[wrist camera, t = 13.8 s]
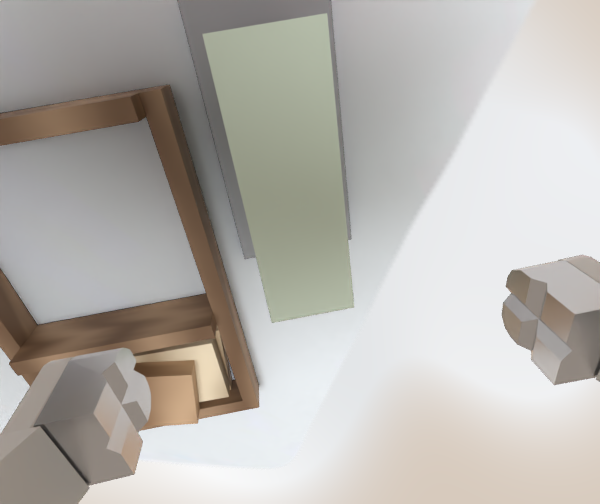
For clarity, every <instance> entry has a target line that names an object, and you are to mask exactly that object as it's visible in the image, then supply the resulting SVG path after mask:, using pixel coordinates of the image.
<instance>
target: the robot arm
mask: <svg viewBox="0 0 600 504" xmlns="http://www.w3.org/2000/svg"><path fill="white" fill-rule="evenodd" d="M506 287H507V288H508V289H509V291H510V292H511V294H510V296H508V298H507V299H506V300H505V301H504V302H503V310H502V318H503V322H504V326H505V328H506V330H507V332H508V333H509V335H510V337H511V338H512V339H513V340H514V341H515V342H516V343H517V344H518V345H520V346H522V347H524V348H526V349H529V350H531V360H532V361H533V362H534V364H535V365H536V366H537V367H538V368H539V369H540V370H541V371H542V372H543V373H544V375H545V376H546V377H547V378H548V379H549V380H550V381H551V382H552V383H553V384H554V385H557V384H562V383H568V382H573V381H578V380H584V379H589V378H595V377H597V378H596V380H598V381H600V262H598V261H597V260H595V259H593V258H592V257H589V256H584V255H579V256H574V257H570V258H565V259H561V260H558V261H555V262H550V263H545V264H540V265H535V266H530V267H526V268H520V269H516V270H512V271H511V272H510V274H509V275H508V278H507V283H506ZM135 364H136V359H135V357H134V356H133V354H132V352H131V350H130V349H127V348H119V349H113V350H107V351H102V352H96V353H90V354H85V355H79V356H75V357H70V358H64V359H59V360H53V361H50V362H49V363H47V364H45V365H44V366H43V367H42V369H41V370H40V372H39V374H38V375H37V377H36V378H35V380H34V382H33V383H32V385H31V386H30V388H29V390H28V391H27V393H26V394H25V396H24V398H23V399H22V401H21V402H20V404H19V405H18V407H17V409H16V410H15V412H14V413H13V415H12V417H11V418H10V420H9V421H8V423H7V425H6V426H5V428H4V429H3V431H2V433H1V434H0V504H78V503H79V501H80V500H81V499H82V498H83V496H84V495H85V494H86V492H87V491H88V489H89V485H93V484H97V483H101V482H105V481H110V480H113V479H118V478H122V477H126V476H130V475H134V474H135V470H136V466H137V462H138V459H139V455H140V451H141V447H142V443H143V441H142V439H141V437H140V436H139V434H138V432H139V431H140V430H141V429H142V427H143V426H144V425H145V424H146V423H147V422H148V419H149V415H150V411H151V392H150V389H149V385H148V382H147V380H146V378H145V376H144V375H142V374H140V373H138V372H137V371H135V370H134V367H135Z"/></svg>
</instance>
